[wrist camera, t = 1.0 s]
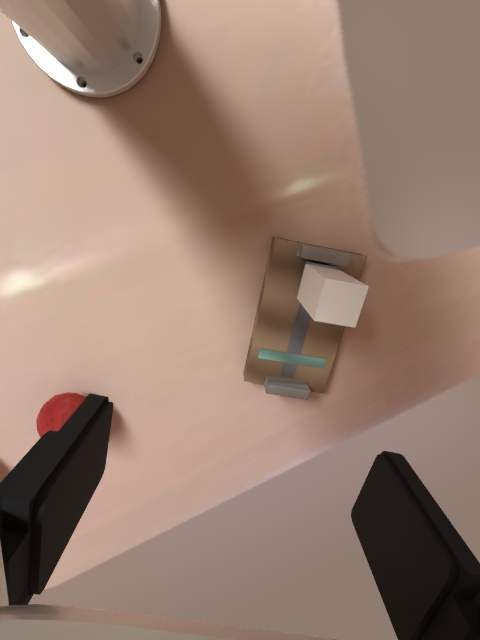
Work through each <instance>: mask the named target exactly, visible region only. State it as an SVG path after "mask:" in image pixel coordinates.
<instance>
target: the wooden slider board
mask: <svg viewBox="0 0 480 640" xmlns="http://www.w3.org/2000/svg"><path fill="white" fill-rule="evenodd" d="M366 259H367V256H364V255H361V254H357V253H352V252H346V251H341V250H336V249H331V248H326V247H321V246H316V245H310V244H305V243H300V242H295V241H290V240H285V239H280V238H275V237H273V240H272V245H271V249H270V254H269V258H268V263H267V268H266V272H265V277H264V281H263V286H262V291H261V295H260V300H259V304H258V309H257V314H256V318H255V323H254V327H253V332H252V337H251V341H250V346H249V350H248V355H247V360H246V364H245V369H244V381H247V382H254V383H260V384H265V390H266V393H268V394H274V395H281V396H288V397H295V398H301V399H308V397H309V394H310V391H313V392H320V393H324V390H325V387H326V383H327V380H328V377H329V374H330V371H331V368H332V365H333V362H334V359H335V355H336V352H337V349H338V346H339V343H340V340H341V337H342V334H343V331H344V327H345V326H342V325H336V324H330V323H324V322H318V321H314V320H313V319H312V318H311V316H310V315H309V314H308V312H307V311H306V310H305V308H304V307H303V306H302V304H301V303H300V302H299V300H298V299H297V294H298V290H299V286H300V282H301V278H302V274H303V271H304V267H305V263H306V260H308V261H314V262H319V263H324V264H330V265H333V266H335V267H337V268H336V270H340V271H342V272H344V273H346V274H348V275H349V276H351V277H353V278H355V279H357V280H359V281H360V278H361V275H362V272H363V268H364V265H365V262H366Z"/></svg>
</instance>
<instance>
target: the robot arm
mask: <svg viewBox="0 0 480 640" xmlns="http://www.w3.org/2000/svg"><path fill="white" fill-rule="evenodd" d="M0 11H1V12H3V13H4V14H5V15H6V16H7V17H8V18H10V19H11V21H12V24H13V26H14V29H15V31H16V33H17V36H18V38H19V40H20V42H21V43H22V45H23V47H24V48H25V50H26V51H27V53H28V55H29V56H30V57H31V58H32V60H33V61H34V62H35V63H36V64H37V66H38V67H39V68H40V69H41V70H42V71H44V72H45V73H46V74H47V75H48V76H49V77H50V78H52V79H53V80H54V81H56V82H57V83H59V84H60V85H61V86H63V87H65V88H67V89H69V90H71V91H73V92H75V93H77V94H81V95H84V96H88V97H100V98H103V97H109V96H115V95H117V94H120V93H122V92H125V91H127V90H128V89H130V88H131V87H132V86H134V85H135V84H136V83H138V81H139V80H140V79H141V78H142V77H143V76H144V75H145V74H146V72H147V70H148V69H149V67H150V65H151V63H152V62H153V60H154V57H155V54H156V51H157V48H158V45H159V39H160V33H161V8H160V1H159V0H0ZM139 60H143V62H142V63H141V64H138V61H139ZM85 83H87V85H86V87H85V88H84V84H85ZM108 401H109V399H108V397H105V396H100V395H95V394H89V395H88V396H87V397H86V399H85V400H84V401H83V402H82V403H81V405H80V406H79V407H78V408H77V409H76V411H75V412H74V413H73V414H72V415H71V417H70V418H69V419H68V420H67V421H66V422H65V424H64V425H63V426H62V427H61V428H60V430H59V431H52V430H50V431H47V432H46V433H45V434H44V435H43V436H42V437H41V438H40V439H39V440H38V442H37V443H36V444H35V445H34V446H33V447H32V448H31V449H30V451H29V452H28V453H27V454H26V455H25V456H24V457H23V458H22V459H21V461H20V462H19V463H18V464H17V465H16V466H15V467H14V468H13V470H12V471H11V472H10V473H9V474H8V475H7V476H6V477H5V479H4V480H3V481H2V482H1V483H0V640H335V639H326V638H320V637H313V636H306V635H298V634H291V633H284V632H276V631H269V630H262V629H254V628H246V627H240V626H231V625H224V624H216V623H209V622H201V621H193V620H186V619H178V618H170V617H163V616H155V615H147V614H140V613H130V612H122V611H112V610H102V609H93V608H85V607H75V606H60V605H40V604H33V605H28V603H29V601H30V600H31V598H32V596H33V594H40V593H41V592H42V591H43V590H44V588H45V586H46V584H47V582H48V580H49V578H50V576H51V574H52V573H53V571H54V569H55V567H56V565H57V563H58V561H59V559H60V557H61V555H62V553H63V551H64V549H65V547H66V546H67V544H68V542H69V540H70V538H71V536H72V534H73V532H74V530H75V528H76V526H77V524H78V522H79V520H80V518H81V517H82V515H83V513H84V511H85V509H86V507H87V505H88V503H89V501H90V499H91V497H92V495H93V493H94V491H95V490H96V488H97V486H98V484H99V482H100V480H101V478H102V475H103V473H104V469H105V464H106V457H107V449H108V442H109V434H110V427H111V419H112V412H113V403H112V402H108ZM351 517H352V522H353V525H354V527H355V530H356V532H357V535H358V538H359V540H360V543H361V545H362V548H363V551H364V553H365V556H366V558H367V561H368V563H369V566H370V569H371V571H372V574H373V576H374V579H375V581H376V584H377V587H378V589H379V592H380V594H381V597H382V599H383V602H384V605H385V607H386V610H387V612H388V615H389V617H390V620H391V622H392V625H393V628H394V630H395V633H396V636H397V638H398V640H480V563H479V562H478V560H477V559H476V557H475V556H474V555H473V553H472V552H471V550H470V549H469V548H468V546H467V545H466V543H465V542H464V541H463V539H462V538H461V536H460V535H459V534H458V532H457V531H456V529H455V528H454V526H453V525H452V524H451V522H450V521H449V519H448V518H447V517H446V515H445V514H444V512H443V511H442V510H441V508H440V507H439V506H438V504H437V503H436V501H435V500H434V498H433V497H432V496H431V494H430V493H429V492H428V490H427V489H426V487H425V486H424V484H423V483H422V482H421V480H420V479H419V477H418V476H417V475H416V473H415V472H414V470H413V469H412V468H411V466H410V465H409V463H408V462H407V460H406V459H405V458H404V456H402V455H401V454H398V453H393V452H387V451H383V452H382V453H381V454H379V455H377V457H376V458H375V461H374V463H373V465H372V467H371V469H370V472H369V474H368V476H367V478H366V481H365V482H364V485H363V487H362V489H361V491H360V494H359V496H358V498H357V500H356V502H355V504H354V506H353V509H352V513H351Z"/></svg>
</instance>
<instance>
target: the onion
mask: <svg viewBox="0 0 480 640" xmlns="http://www.w3.org/2000/svg"><path fill="white" fill-rule="evenodd" d="M85 399H86V398H85V397H83V396H81V395H79V394H76V393H63V394H60V395H56V396H54V397H52V398H51V399H50V400H49V401H48V402H46V403H45V404H44V405H43V406H42V408H41V410H40V412H39V415H38V417H37V431H38V433H39V435H40V437H42V436H43V435H44V434H45V433H46V432H47V431H50V430H52V431H59V430H60V428H61V427H62V426H63V425H64V424H65V422H66V421H67V420H68V419H69V418H70V417H71V415H72V414H73V413H74V412H75V411H76V409H77V408H78V407H79V406H80V405H81V403H82V402H83V401H84V400H85Z"/></svg>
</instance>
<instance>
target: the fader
mask: <svg viewBox="0 0 480 640" xmlns="http://www.w3.org/2000/svg"><path fill="white" fill-rule="evenodd" d="M336 268H337V267H335V266H333V265H330V264H324V263H319V262H314V261H308V260H306V263H305V267H304V271H303V274H302V278H301V282H300V286H299V290H298V294H297V299H298V300H299V302H300V303H301V304H302V306H303V307H304V308H305V310H306V311H307V312H308V314H309V315H310V316H311V318H312V319H313V320H314V321H318V322H324V323H330V324H336V325H342V326H347V327H353V328H355V327H356V324H357V321H358V318H359V315H360V312H361V309H362V306H363V303H364V300H365V297H366V294H367V291H368V288H369V286H368V285H366V284H364V283H362V282H360V281H359V280H357V279H355V278H353V277H351V276H349V275H348V274H346V273H344V272H342V271H340V270H336Z"/></svg>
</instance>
